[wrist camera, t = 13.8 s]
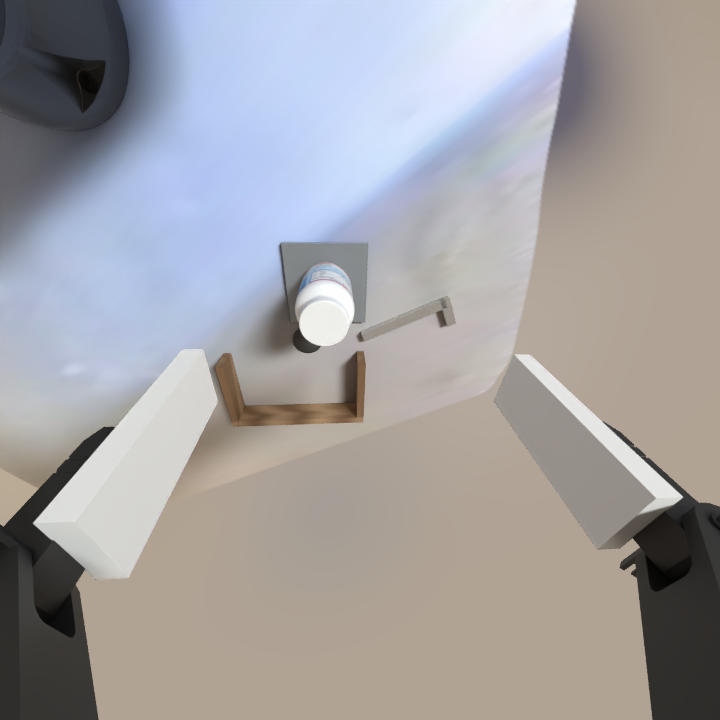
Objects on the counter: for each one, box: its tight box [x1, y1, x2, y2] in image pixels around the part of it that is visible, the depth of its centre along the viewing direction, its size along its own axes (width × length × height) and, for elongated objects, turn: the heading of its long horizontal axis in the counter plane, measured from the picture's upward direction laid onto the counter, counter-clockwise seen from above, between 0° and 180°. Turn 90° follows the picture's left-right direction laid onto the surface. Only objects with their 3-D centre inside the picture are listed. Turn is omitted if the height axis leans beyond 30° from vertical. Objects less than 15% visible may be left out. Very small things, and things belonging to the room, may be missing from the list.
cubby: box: [215, 351, 366, 427], centre depth 42 cm, size 20×11×4 cm, turn 89°
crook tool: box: [361, 296, 456, 341], centre depth 39 cm, size 4×13×1 cm, turn 113°
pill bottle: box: [295, 262, 354, 346], centre depth 30 cm, size 6×6×11 cm
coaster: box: [281, 242, 368, 323], centre depth 35 cm, size 10×10×1 cm
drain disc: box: [293, 329, 321, 353], centre depth 40 cm, size 4×4×1 cm
